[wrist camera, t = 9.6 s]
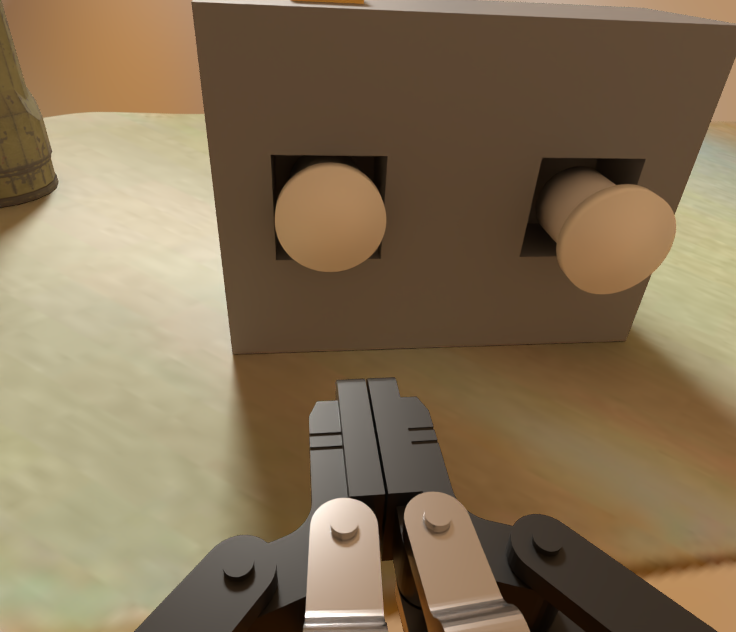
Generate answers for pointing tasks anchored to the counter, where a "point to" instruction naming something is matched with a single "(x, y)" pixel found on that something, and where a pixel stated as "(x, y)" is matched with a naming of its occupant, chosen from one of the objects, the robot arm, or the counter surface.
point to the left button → (329, 214)
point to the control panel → (442, 156)
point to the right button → (604, 229)
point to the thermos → (20, 132)
